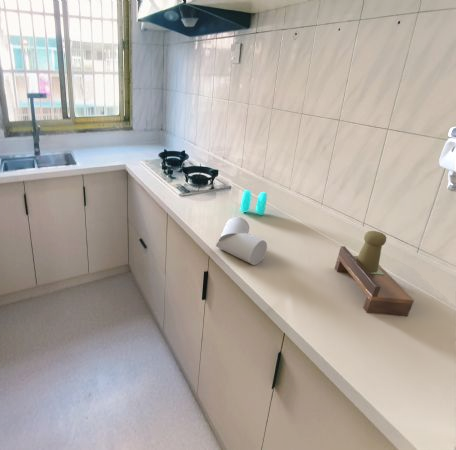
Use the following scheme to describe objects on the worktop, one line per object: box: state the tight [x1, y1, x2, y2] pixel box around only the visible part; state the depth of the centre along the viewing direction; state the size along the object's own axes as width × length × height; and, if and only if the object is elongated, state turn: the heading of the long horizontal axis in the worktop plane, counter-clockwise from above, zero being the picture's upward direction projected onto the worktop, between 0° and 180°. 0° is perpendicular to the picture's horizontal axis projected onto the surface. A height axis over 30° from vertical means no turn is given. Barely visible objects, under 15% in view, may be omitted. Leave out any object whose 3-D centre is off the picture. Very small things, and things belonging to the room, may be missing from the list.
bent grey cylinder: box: [215, 216, 268, 266], centre depth 115 cm, size 18×11×20 cm
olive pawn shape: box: [356, 230, 387, 273], centre depth 96 cm, size 6×6×11 cm
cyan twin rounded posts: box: [240, 189, 268, 216], centre depth 146 cm, size 10×10×10 cm
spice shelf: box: [334, 245, 415, 317], centre depth 95 cm, size 10×22×8 cm, turn 174°
